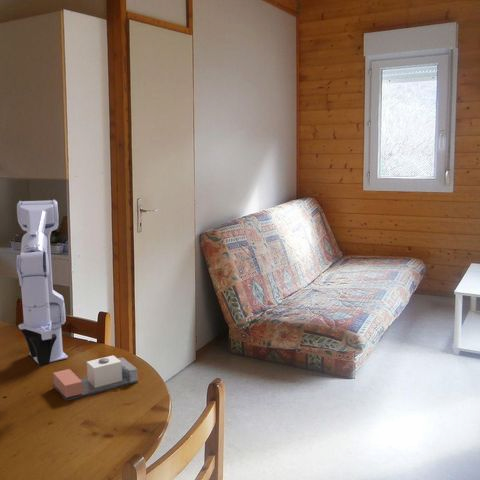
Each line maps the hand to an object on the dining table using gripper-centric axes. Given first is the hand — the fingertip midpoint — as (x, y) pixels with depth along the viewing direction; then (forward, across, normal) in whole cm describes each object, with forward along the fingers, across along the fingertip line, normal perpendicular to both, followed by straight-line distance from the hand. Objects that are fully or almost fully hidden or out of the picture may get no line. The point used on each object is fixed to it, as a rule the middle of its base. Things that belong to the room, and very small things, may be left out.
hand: (40, 360), depth 136 cm
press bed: (+9, 0, +13) cm, 16 cm away
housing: (+9, 0, +15) cm, 18 cm away
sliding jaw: (+9, 0, +6) cm, 10 cm away
